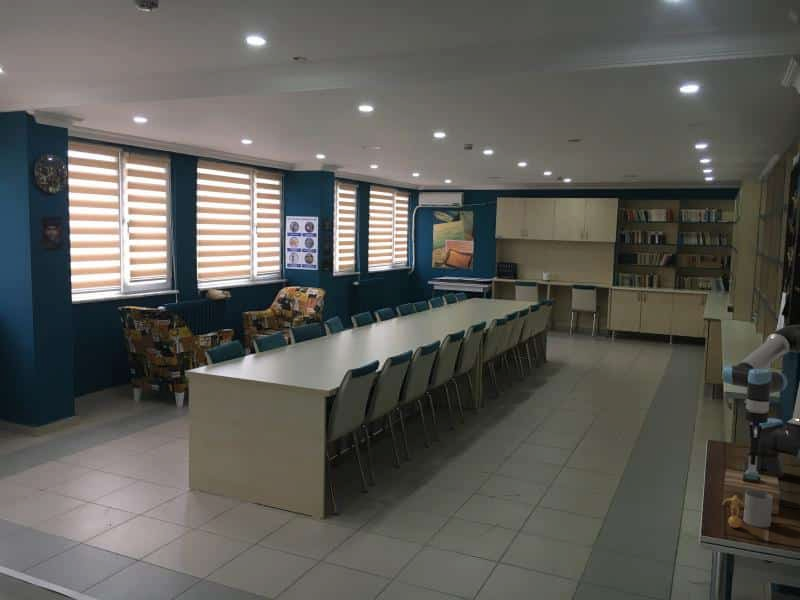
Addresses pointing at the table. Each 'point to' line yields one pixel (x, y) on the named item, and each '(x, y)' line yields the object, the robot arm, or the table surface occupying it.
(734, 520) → the figurine
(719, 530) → the table surface
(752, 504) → the cup
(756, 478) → the peg
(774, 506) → the socket block
